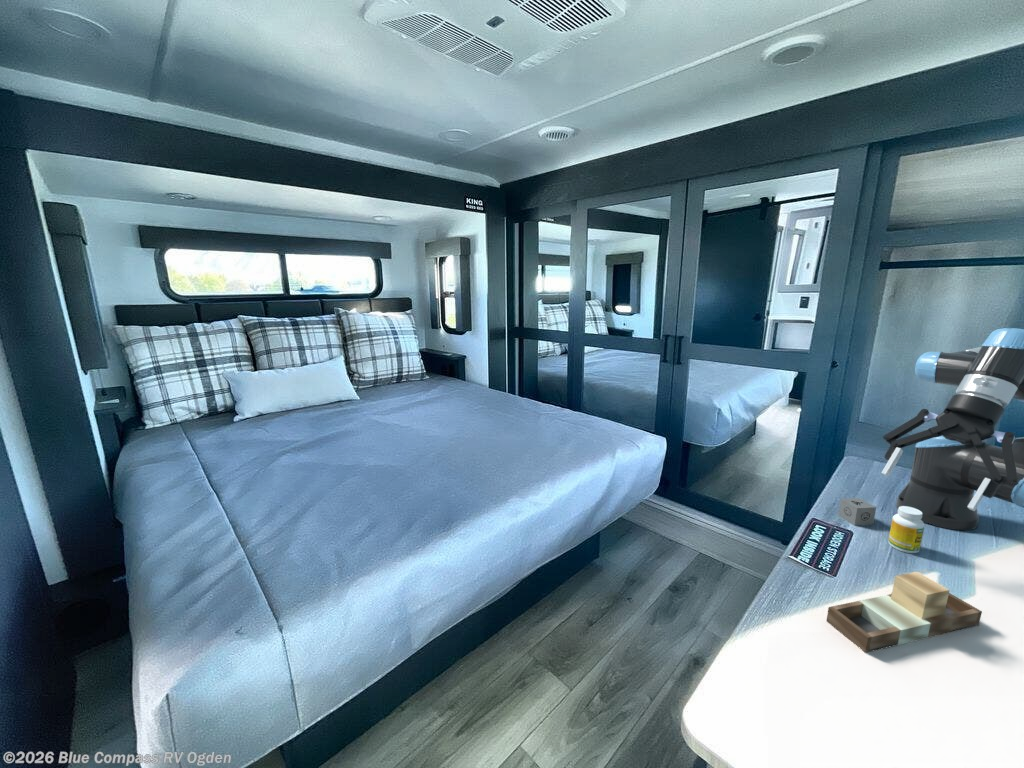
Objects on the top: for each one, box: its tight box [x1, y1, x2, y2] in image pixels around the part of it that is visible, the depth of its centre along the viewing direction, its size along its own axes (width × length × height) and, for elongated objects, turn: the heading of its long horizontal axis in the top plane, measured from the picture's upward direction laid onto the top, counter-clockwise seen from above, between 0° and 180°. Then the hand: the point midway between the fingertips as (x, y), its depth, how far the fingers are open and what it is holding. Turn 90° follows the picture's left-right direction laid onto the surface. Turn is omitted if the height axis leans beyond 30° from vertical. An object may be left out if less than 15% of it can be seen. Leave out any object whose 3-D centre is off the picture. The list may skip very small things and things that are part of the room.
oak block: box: [891, 571, 950, 619], centre depth 74 cm, size 5×5×5 cm
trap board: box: [826, 592, 983, 653], centre depth 74 cm, size 25×7×3 cm, turn 101°
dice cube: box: [838, 497, 877, 527], centre depth 107 cm, size 5×5×5 cm
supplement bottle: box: [887, 506, 925, 554], centre depth 95 cm, size 5×5×10 cm
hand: (924, 491), depth 85 cm, fingers open, 13 cm apart
